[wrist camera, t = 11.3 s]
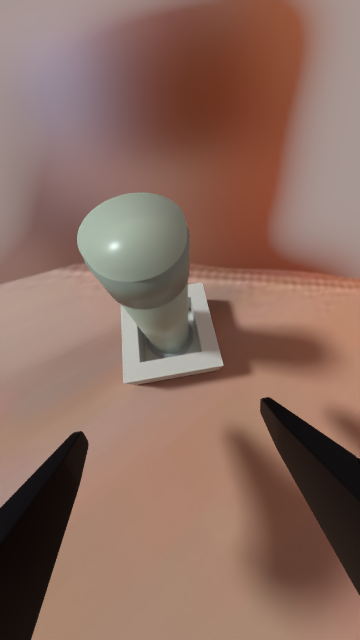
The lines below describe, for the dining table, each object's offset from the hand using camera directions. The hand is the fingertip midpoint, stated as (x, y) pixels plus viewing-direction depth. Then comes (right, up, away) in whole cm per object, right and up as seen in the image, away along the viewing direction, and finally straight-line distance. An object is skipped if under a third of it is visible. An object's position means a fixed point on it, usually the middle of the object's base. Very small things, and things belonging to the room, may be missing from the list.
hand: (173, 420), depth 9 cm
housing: (-1, +3, +11) cm, 11 cm away
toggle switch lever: (-1, +3, +10) cm, 10 cm away
